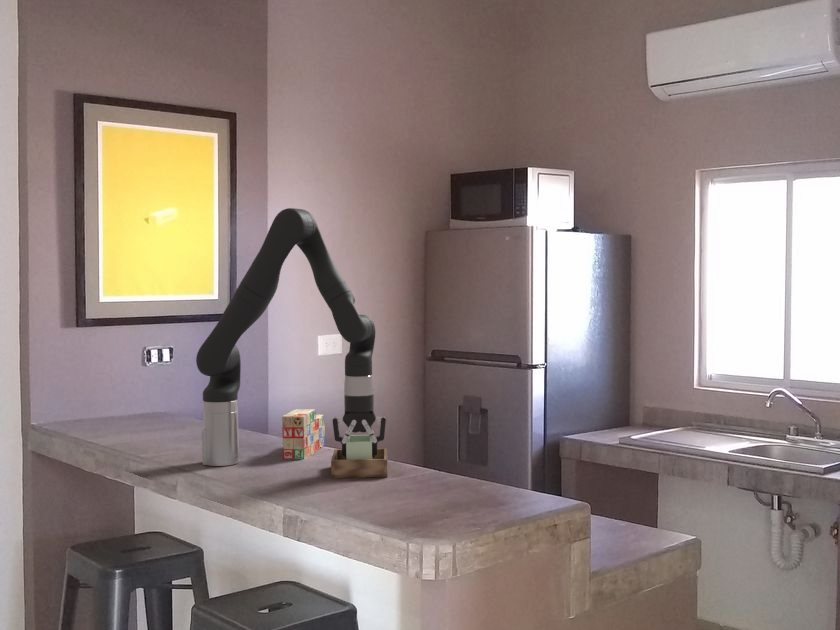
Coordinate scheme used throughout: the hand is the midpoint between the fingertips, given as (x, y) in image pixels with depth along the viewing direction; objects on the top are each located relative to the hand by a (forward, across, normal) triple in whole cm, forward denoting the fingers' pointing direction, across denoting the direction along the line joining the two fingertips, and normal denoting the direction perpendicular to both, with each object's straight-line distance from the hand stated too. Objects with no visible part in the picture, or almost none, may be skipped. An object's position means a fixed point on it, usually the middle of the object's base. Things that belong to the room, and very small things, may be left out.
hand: (359, 456), depth 245 cm
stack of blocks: (+4, -17, +28) cm, 33 cm away
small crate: (+1, 0, 0) cm, 1 cm away
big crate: (+4, 0, 0) cm, 4 cm away
